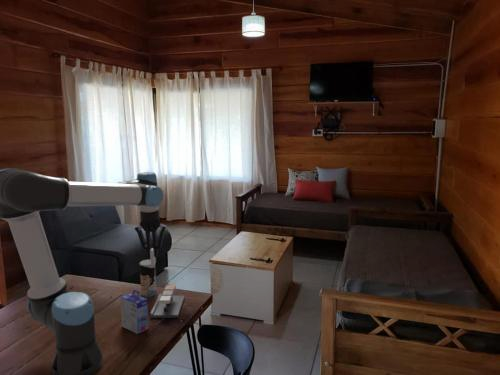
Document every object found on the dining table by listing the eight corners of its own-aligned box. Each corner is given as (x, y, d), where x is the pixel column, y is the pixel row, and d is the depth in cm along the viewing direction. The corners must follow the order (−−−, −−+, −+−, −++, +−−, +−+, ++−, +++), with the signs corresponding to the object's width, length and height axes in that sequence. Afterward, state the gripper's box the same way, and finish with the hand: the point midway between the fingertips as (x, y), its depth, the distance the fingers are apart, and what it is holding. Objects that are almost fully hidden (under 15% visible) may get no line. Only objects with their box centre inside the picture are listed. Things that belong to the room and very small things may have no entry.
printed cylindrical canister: (142, 290, 177) (140, 260, 174) (156, 289, 178) (155, 259, 176) (140, 297, 171) (138, 265, 168) (156, 296, 172) (154, 264, 169)
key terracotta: (173, 292, 163) (173, 289, 163) (164, 292, 163) (164, 289, 163) (175, 288, 167) (175, 285, 167) (166, 288, 167) (166, 285, 167)
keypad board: (177, 317, 153) (177, 312, 153) (150, 317, 153) (150, 312, 152) (184, 298, 170) (184, 292, 169) (159, 298, 170) (159, 293, 169)
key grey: (171, 297, 158) (171, 294, 158) (162, 297, 158) (161, 294, 158) (173, 293, 162) (173, 290, 162) (164, 293, 162) (163, 290, 162)
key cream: (169, 303, 154) (169, 300, 153) (159, 303, 153) (159, 300, 153) (171, 298, 157) (171, 295, 157) (161, 299, 157) (161, 295, 157)
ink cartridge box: (149, 328, 145) (148, 293, 143) (138, 335, 141) (135, 298, 138) (133, 320, 151) (131, 286, 148) (121, 326, 147) (119, 291, 144)
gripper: (167, 207, 160) (170, 260, 164) (135, 208, 159) (140, 261, 164) (163, 211, 152) (167, 267, 157) (130, 212, 152) (135, 268, 157)
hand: (153, 264), depth 160 cm, fingers closed
